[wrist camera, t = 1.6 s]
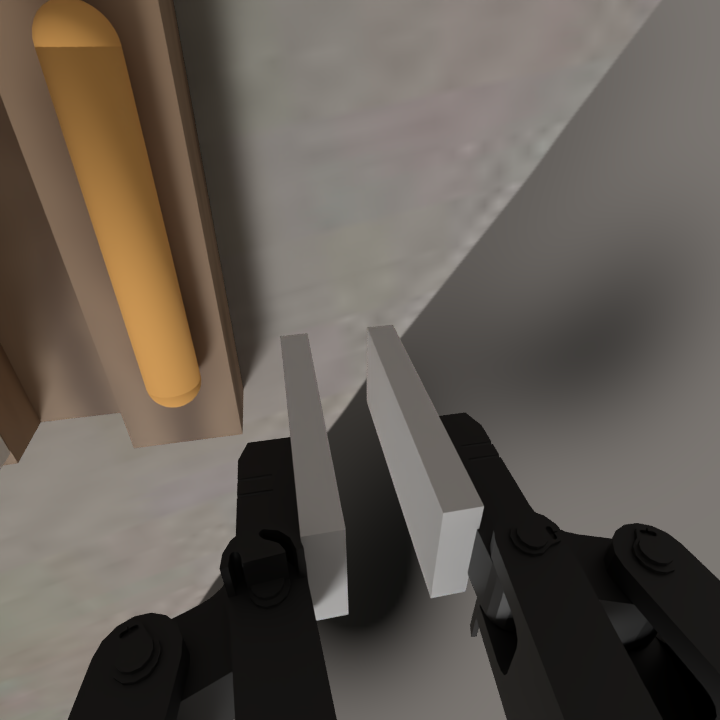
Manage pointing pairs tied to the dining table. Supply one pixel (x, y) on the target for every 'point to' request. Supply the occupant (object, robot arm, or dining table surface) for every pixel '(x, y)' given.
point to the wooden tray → (83, 254)
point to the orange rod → (118, 189)
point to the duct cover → (3, 452)
